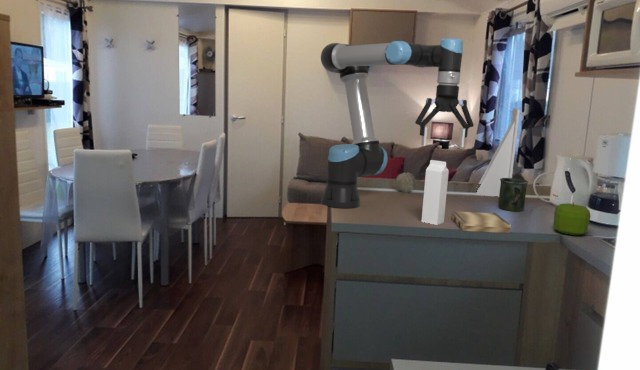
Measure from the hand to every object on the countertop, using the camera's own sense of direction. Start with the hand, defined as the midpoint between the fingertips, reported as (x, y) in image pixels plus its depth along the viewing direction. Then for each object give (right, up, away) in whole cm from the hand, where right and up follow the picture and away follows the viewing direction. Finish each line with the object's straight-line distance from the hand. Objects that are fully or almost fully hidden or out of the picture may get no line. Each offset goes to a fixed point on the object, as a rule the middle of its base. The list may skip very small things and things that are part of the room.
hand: (442, 146), depth 186 cm
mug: (+35, -24, +29) cm, 52 cm away
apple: (+43, -31, -4) cm, 53 cm away
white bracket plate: (+37, -18, +62) cm, 74 cm away
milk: (-3, -27, +2) cm, 27 cm away
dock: (+13, -28, 0) cm, 31 cm away
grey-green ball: (-5, -17, +57) cm, 59 cm away
